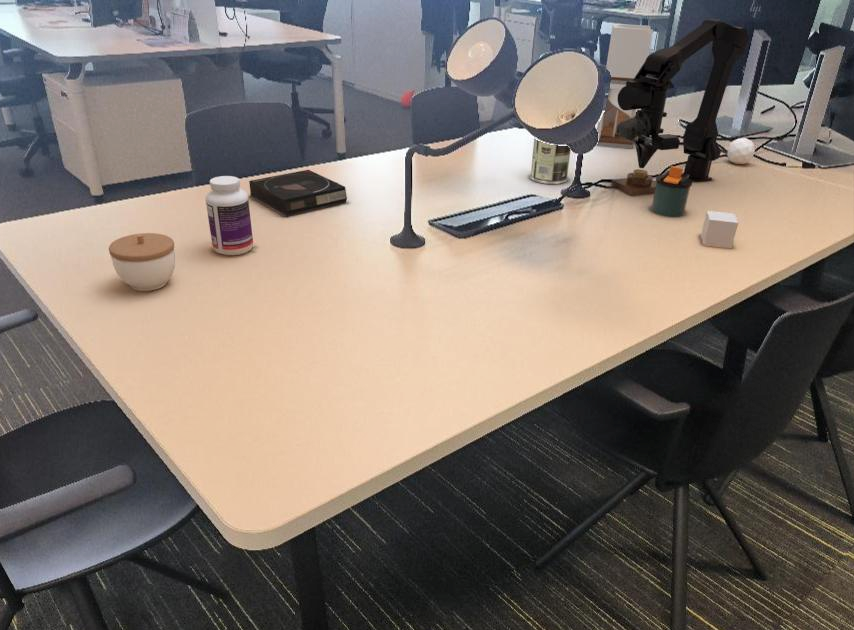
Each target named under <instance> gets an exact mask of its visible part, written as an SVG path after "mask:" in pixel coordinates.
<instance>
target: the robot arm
mask: <svg viewBox="0 0 854 630" xmlns="http://www.w3.org/2000/svg"><path fill="white" fill-rule="evenodd" d="M749 40H750V34H749V33H748V30H747V29H746V28H745V27H740V26H733V25H730V24H728V23H726V22H724V21H723V20H720V19H713V18H707V19H704V20H703V21H702V22H701V24H700V25H699V26H697V27H696V28H695V29H693V30H691V32H689V33H688V34H686V35H685V36H683V37H682V38H681V39H680V40H678V41H677V42H675V43H674V44H672V45H671V46H669V47H665V48H660V49H658V50H656V51H654V52H651V53H649V56H648V57H647V58H646V61H645V62H644V64H643V65H642V67H641V68H640V70H639V72H638V73H637V75H636V76H635V78H634V79H633V81H627V82H626V86H625V87H623V88H622V89H621V90H620V92H619V94H618V105H619V107H620V108H621V109H622V110H635V109H636V112H635V117H633V118H630V119H628V120H626V121H624V122H621V123H620V124H619V125H618V127H617V133H619V134H620V137H624V138H626V139H627V140H630V141H631V142H632V143H633V146H635V151H636V156H637V157H636V158H637V163H638V164H637V165H638V168H639V169H645V167H646V166H647V165H648V163H649V162H650V160H651V158H653V156H654V155H655V153H657V151H658V150H659V151H669V150H678V149H679V147H680V143H681V139H680V138H679V136H676V135H673V134H670V133H665V134H664V128H662V127H661V126H662V124H663V123H662V122H663V118H667V116H668V112H665V106H666V101H667V96H668V91H669V89H670V90H671V89H674V88H675V84H674V83H673V82H672V81H671V80H672V79H673V78H674V77H675V76H676V75H677V74H678V73H679V72H681V70H682V68H683V67H682V66H683V64H684V63H685V62H686V61H688V59H690V58H691V57H692V56H694V55H695V54H697V53H698V52H699V51H701V50H702V49H703V48H704V47H706V46H707V45H709V44H710V43H711V48H710V50H711V56H712V61H713V63H712V66H711V69H710V73H709V76H708V78H707V79H708V80H707V83H706V86H705V89H704V92H703V96H702V99H701V101H700V106H699V109H698V112H697V116H696V118H695V119H694V120H693V121H692V122H687V124H686V125H685V130H684V132H683V135H682V138H683V139H682V144H683V146H682V147H683V154H685V155H688V156H687V160H686V161H685V165H684V168H683V172H682V175H681V176H683V177H685V176H686V175H687V174H689V178H688V179H690V180H692V182H697V183H698V182H704V181H712V180H713V177H711V176H710V171H711V167H712V163H713V162H716V160H719V158H720V155H721V153H722V151H721V148H720V147H719V145H718V142H717V139H718V134H719V131H718V130H719V129H718V125H717V117H718V114H719V111H720V107H721V104H722V101H723V98H724V96H725V92H726V89H727V86H728V82H729V79H730V76H731V73H732V70H733V67H734V65H735V63H737V61H738V60H740V59H741V57H742V56H743V55H744V53H745V50H746V48H747V45H748V44H749Z"/></svg>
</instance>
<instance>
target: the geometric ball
mask: <svg viewBox="0 0 854 630" xmlns="http://www.w3.org/2000/svg"><path fill="white" fill-rule="evenodd" d="M755 151H756V147H755V145H754V143H753V141H752V140H750V139H748V138H747V137H740V138H737V139H734V140H732V141H731V142H730V144H729V146H728V148H727V153H726V155H727V157H728V159H729V161H730V162H731V163H733V164H735V165H744V164H747V163H749V162H751V160H752V158H753V157H754V155H755Z"/></svg>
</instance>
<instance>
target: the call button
mask: <svg viewBox="0 0 854 630" xmlns="http://www.w3.org/2000/svg"><path fill="white" fill-rule="evenodd" d="M633 172H634V173H633ZM633 172H632V173H633V177H636V178H643V179H644V178H647V174H648V173H649V172H648V170H646V169H642V168H639V169H637V168H636V169H634V170H633ZM648 175H649V174H648Z"/></svg>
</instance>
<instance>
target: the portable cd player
mask: <svg viewBox="0 0 854 630" xmlns="http://www.w3.org/2000/svg"><path fill="white" fill-rule="evenodd" d="M248 183H249V193H250V198H252V199H254V200H255V201H257V202H259V203H260V204H263V205H265V207H268V208H269V209H272V210H273V211H275V212H277V213H278V214H280V215H282V216H284V217H286V218H287V217H291V216H295V215H300V214H303V213H308V212H312V211H316V210H321V209H325V208H329V207H334V206H338V205H343V204H346V203H347V200H348V196H347V189H346V186H344V185H342V184H340V183H339V182H336V181H334V180H331V179H330V178H327V177H326V176H323V175H321V174H319V173H317V172H314V171H313V170H310V169H303V170H299V171H294V172H288V173H284V174H277V175H271V176H268V177H267V176H266V177H262V178H257V179H251V180H249V181H248Z"/></svg>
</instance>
